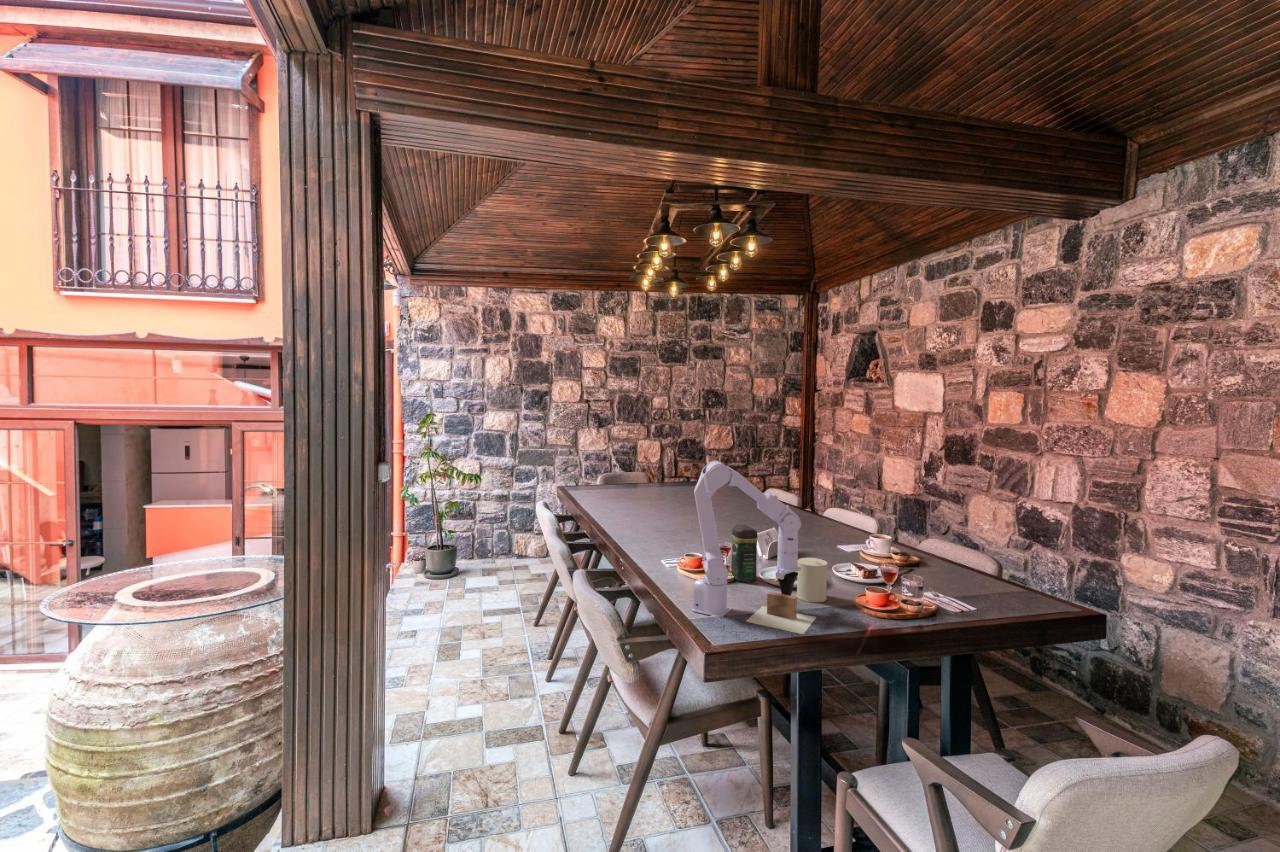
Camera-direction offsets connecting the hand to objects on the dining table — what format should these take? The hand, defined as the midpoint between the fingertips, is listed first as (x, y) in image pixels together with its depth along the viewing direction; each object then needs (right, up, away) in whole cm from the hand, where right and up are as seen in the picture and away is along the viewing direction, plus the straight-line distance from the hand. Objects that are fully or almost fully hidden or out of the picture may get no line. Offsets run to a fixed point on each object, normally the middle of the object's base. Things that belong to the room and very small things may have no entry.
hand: (786, 596), depth 168 cm
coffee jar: (-7, -3, +31) cm, 32 cm away
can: (+11, -4, +13) cm, 18 cm away
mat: (-3, -5, -7) cm, 9 cm away
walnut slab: (-2, -4, -4) cm, 6 cm away
